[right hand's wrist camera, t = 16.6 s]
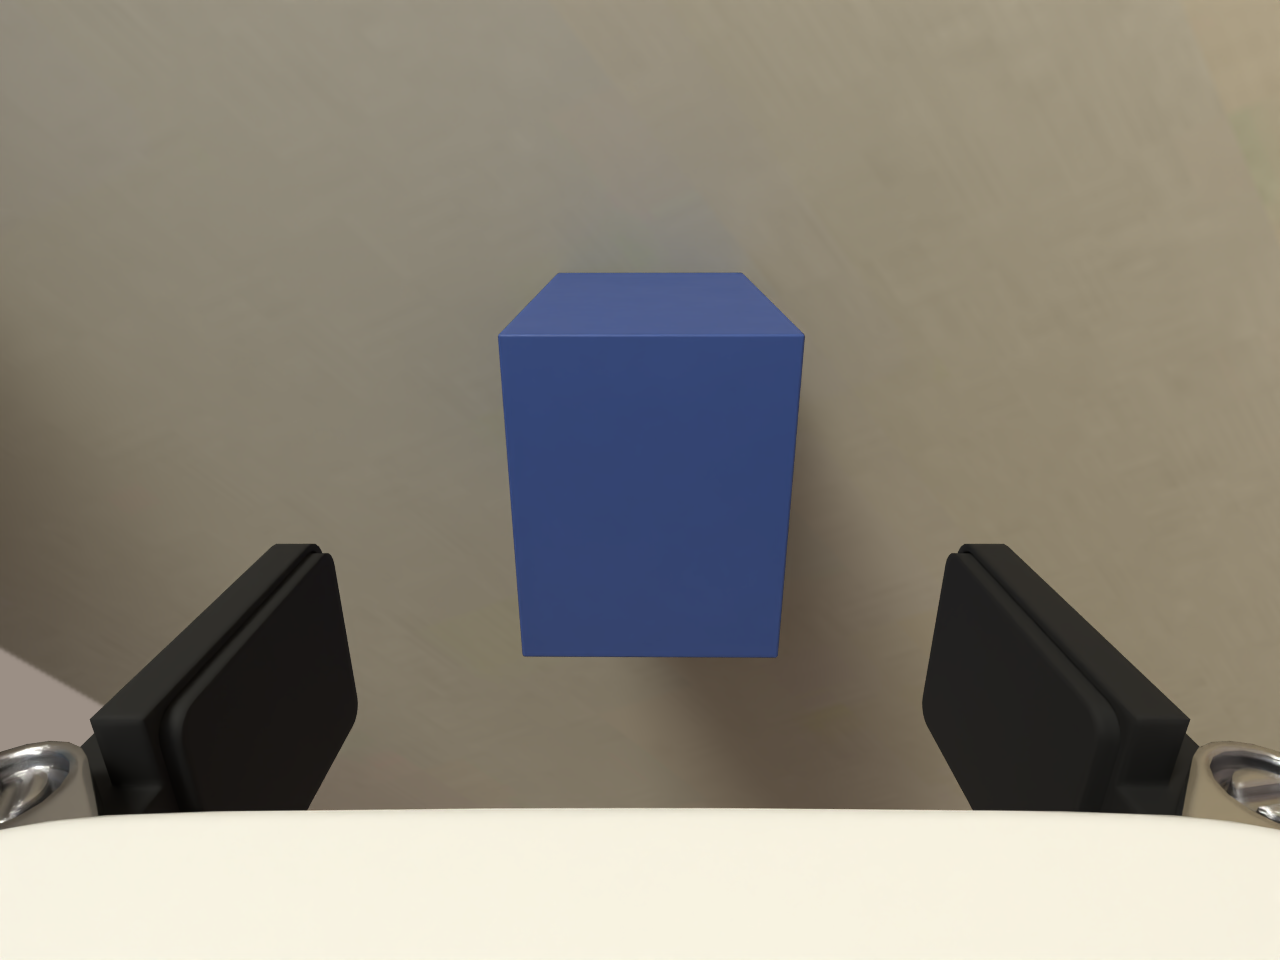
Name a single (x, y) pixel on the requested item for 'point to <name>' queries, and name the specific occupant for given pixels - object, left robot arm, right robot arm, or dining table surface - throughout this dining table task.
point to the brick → (650, 464)
